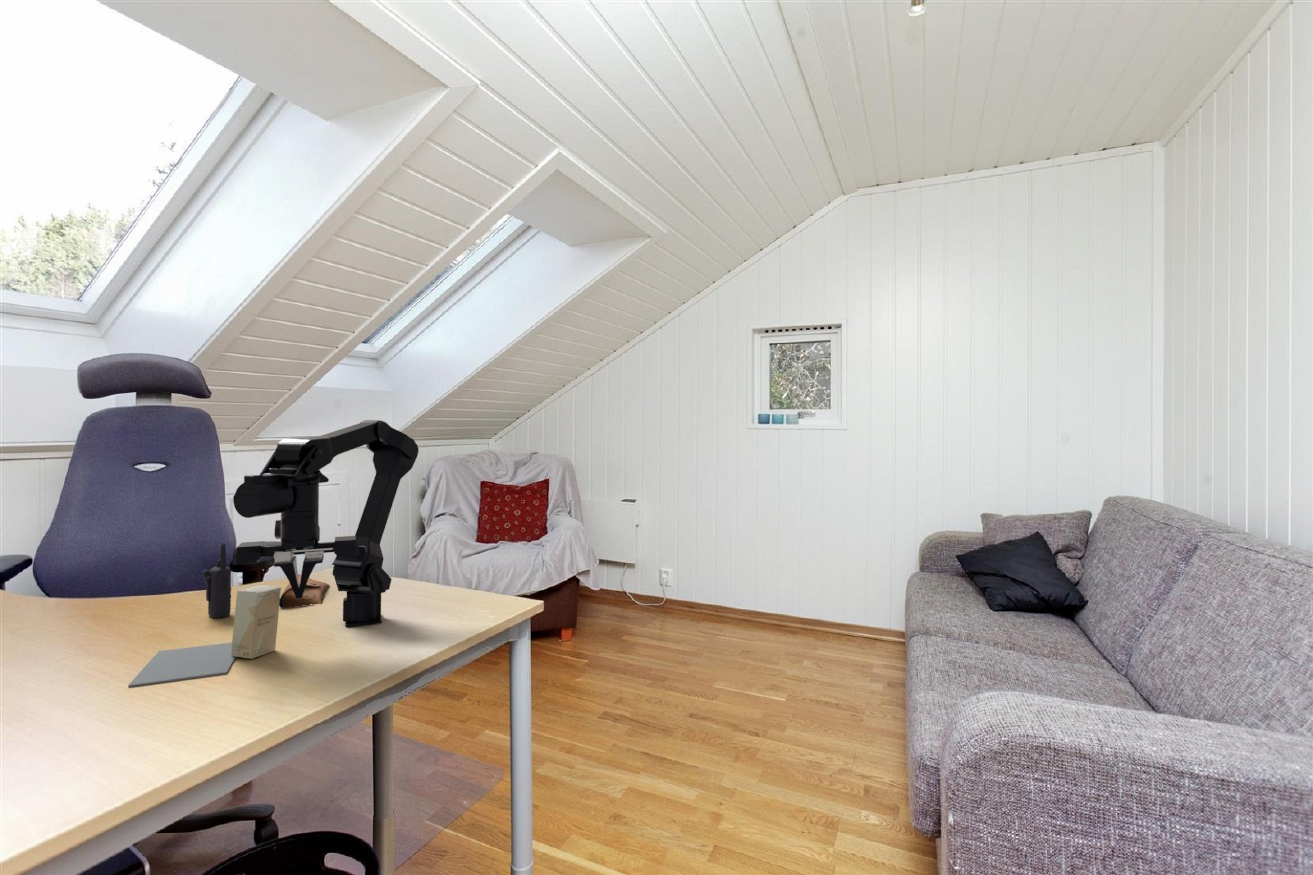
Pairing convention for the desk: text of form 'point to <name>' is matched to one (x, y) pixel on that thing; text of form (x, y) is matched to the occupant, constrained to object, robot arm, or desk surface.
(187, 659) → the felt pad
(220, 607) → the two-way radio
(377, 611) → the robot arm
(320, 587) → the sunglasses case
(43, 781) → the desk surface
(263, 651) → the box
